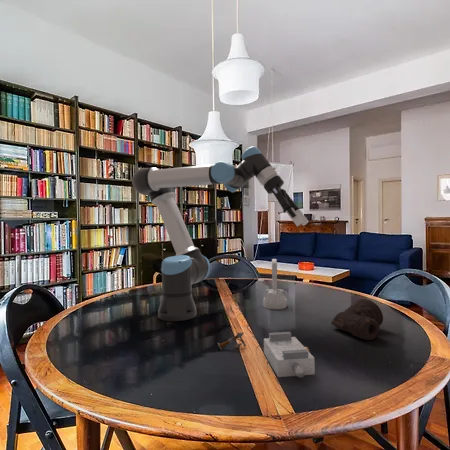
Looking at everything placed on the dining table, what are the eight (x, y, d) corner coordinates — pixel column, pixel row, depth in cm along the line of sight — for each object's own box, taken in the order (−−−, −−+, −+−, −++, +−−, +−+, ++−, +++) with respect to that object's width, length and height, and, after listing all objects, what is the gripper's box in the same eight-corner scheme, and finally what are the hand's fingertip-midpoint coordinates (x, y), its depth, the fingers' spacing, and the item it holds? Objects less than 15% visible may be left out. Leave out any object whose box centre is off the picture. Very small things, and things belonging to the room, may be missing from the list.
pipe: (360, 318, 93) (391, 303, 100) (323, 309, 106) (353, 296, 113) (366, 350, 93) (397, 332, 100) (329, 337, 107) (358, 322, 114)
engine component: (262, 308, 133) (286, 309, 131) (261, 260, 133) (285, 260, 131) (264, 302, 143) (286, 303, 141) (263, 257, 143) (286, 257, 141)
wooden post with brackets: (249, 345, 91) (242, 331, 91) (224, 358, 90) (218, 344, 90) (247, 343, 93) (241, 329, 93) (223, 355, 92) (217, 342, 92)
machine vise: (281, 383, 71) (281, 359, 71) (263, 352, 88) (263, 333, 88) (324, 380, 72) (323, 356, 72) (298, 350, 89) (298, 331, 89)
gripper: (270, 169, 110) (306, 217, 105) (284, 178, 133) (315, 218, 128) (253, 183, 112) (288, 230, 108) (271, 189, 135) (300, 229, 131)
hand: (303, 224), depth 118 cm, fingers open, 13 cm apart
